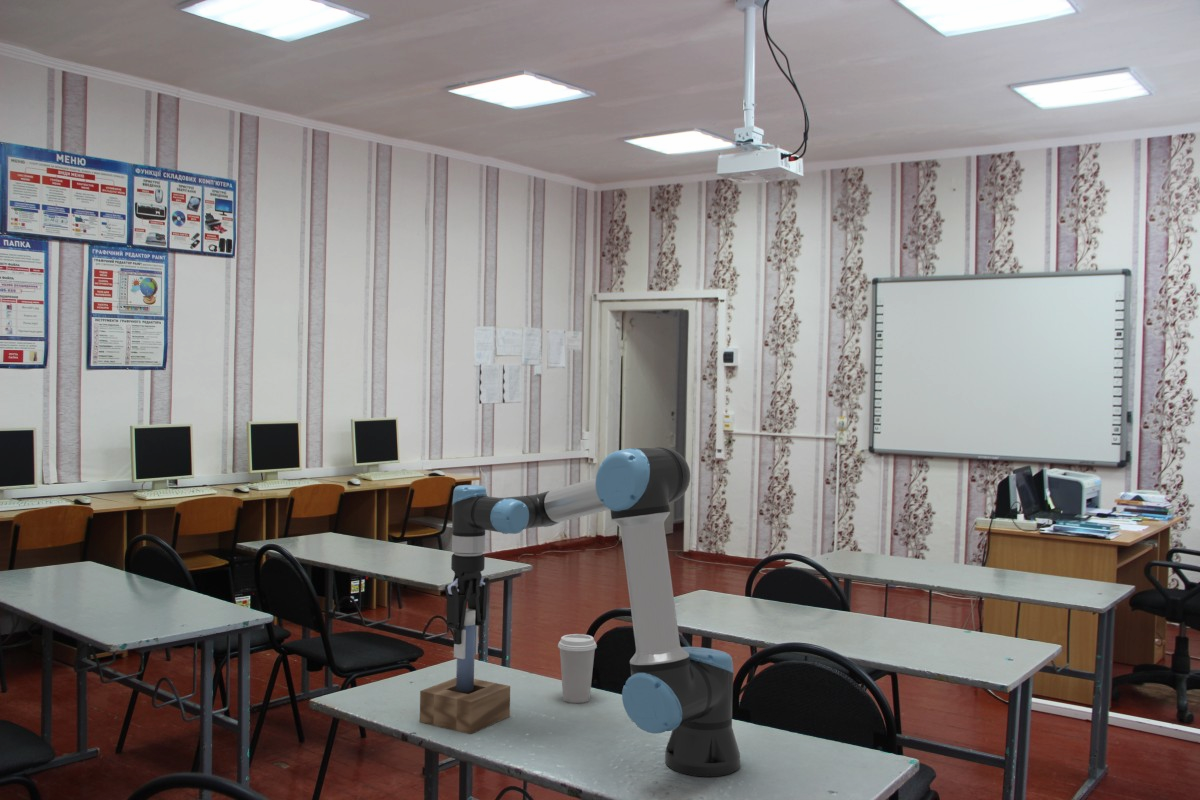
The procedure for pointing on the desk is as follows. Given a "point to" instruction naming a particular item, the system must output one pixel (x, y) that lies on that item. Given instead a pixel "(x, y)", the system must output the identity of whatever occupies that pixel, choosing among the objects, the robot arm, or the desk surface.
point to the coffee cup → (576, 666)
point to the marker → (467, 656)
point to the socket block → (465, 705)
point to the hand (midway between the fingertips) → (465, 655)
